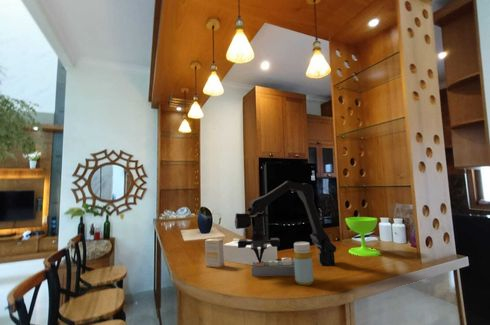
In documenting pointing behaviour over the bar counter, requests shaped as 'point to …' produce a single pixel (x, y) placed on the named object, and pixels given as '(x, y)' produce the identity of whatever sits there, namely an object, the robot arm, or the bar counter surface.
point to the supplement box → (214, 253)
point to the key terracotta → (259, 263)
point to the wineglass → (362, 234)
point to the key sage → (273, 263)
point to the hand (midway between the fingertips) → (259, 262)
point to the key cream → (286, 261)
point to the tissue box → (247, 253)
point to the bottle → (303, 263)
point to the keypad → (273, 269)
